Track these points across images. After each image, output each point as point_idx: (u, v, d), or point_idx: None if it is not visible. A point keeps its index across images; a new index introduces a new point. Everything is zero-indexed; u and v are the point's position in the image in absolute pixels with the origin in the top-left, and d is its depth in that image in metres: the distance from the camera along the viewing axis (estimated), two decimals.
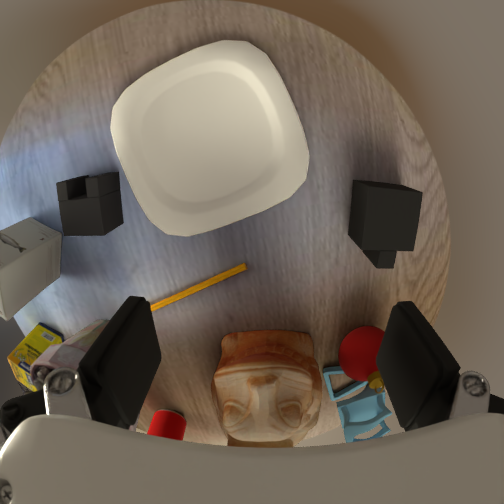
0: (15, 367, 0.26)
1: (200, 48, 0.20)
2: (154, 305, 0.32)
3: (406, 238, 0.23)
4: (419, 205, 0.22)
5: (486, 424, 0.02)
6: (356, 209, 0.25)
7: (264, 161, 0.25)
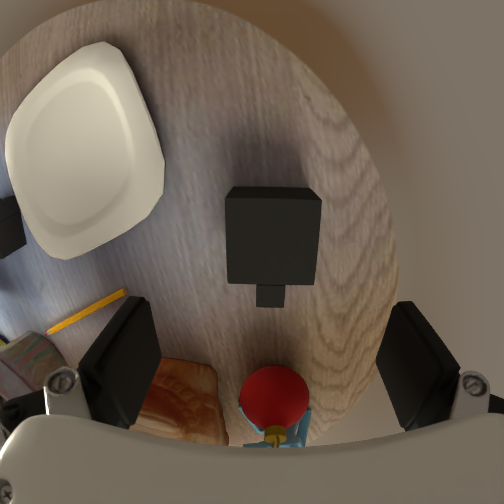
0: None
1: (63, 61, 0.15)
2: (61, 323, 0.27)
3: (299, 268, 0.18)
4: (317, 219, 0.17)
5: (486, 424, 0.02)
6: None
7: (121, 176, 0.20)
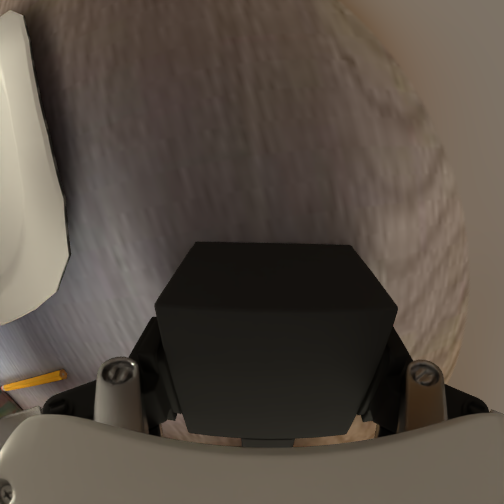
0: None
1: None
2: (11, 385, 0.16)
3: (324, 420, 0.08)
4: (379, 348, 0.06)
5: (486, 424, 0.02)
6: None
7: (18, 219, 0.09)
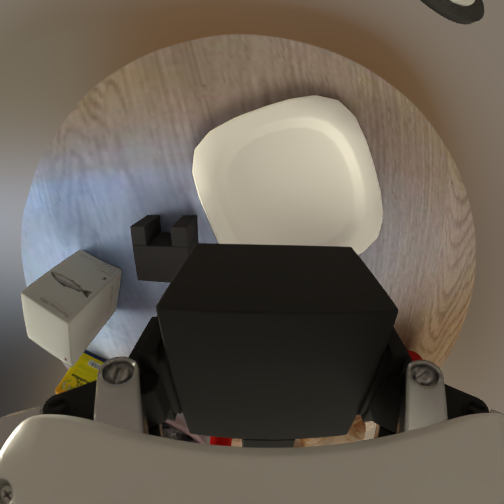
0: None
1: (294, 100, 0.23)
2: None
3: (324, 421, 0.08)
4: (379, 349, 0.06)
5: (486, 424, 0.02)
6: None
7: (345, 219, 0.28)
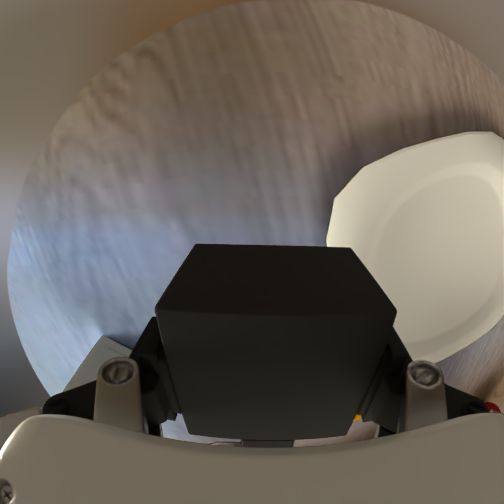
0: None
1: (474, 136, 0.11)
2: None
3: (323, 421, 0.08)
4: (378, 350, 0.06)
5: (486, 424, 0.02)
6: None
7: (486, 294, 0.16)
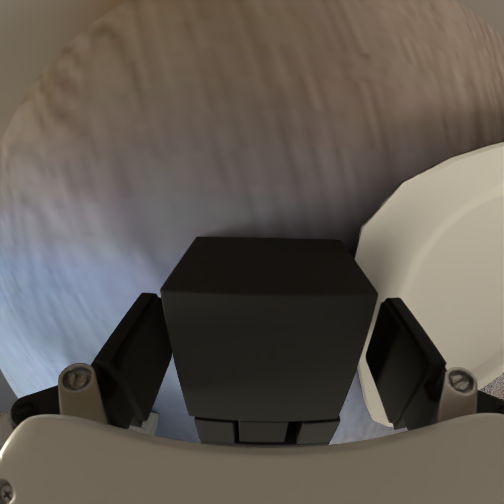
0: None
1: None
2: None
3: (315, 402, 0.09)
4: (363, 331, 0.07)
5: (486, 424, 0.02)
6: None
7: None
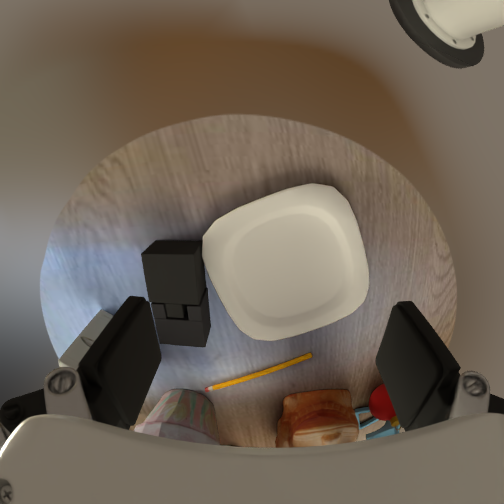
0: None
1: (292, 190, 0.28)
2: (233, 381, 0.39)
3: (187, 294, 0.29)
4: (193, 266, 0.28)
5: (486, 424, 0.02)
6: None
7: (335, 289, 0.32)
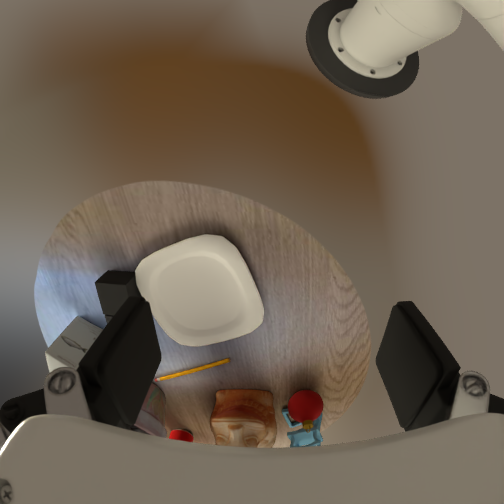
0: None
1: (190, 240, 0.37)
2: (173, 375, 0.49)
3: None
4: (126, 292, 0.37)
5: (486, 424, 0.02)
6: None
7: (237, 311, 0.42)
